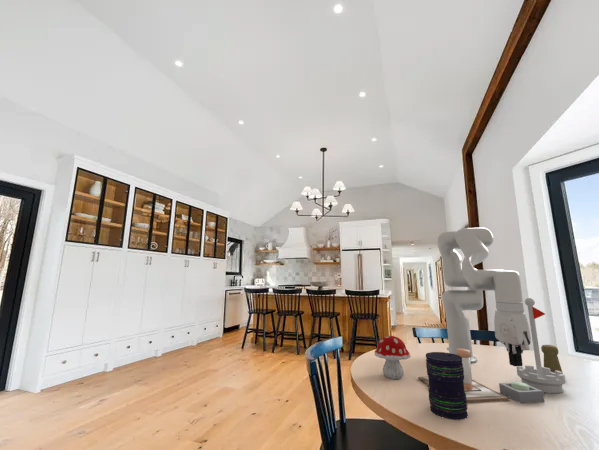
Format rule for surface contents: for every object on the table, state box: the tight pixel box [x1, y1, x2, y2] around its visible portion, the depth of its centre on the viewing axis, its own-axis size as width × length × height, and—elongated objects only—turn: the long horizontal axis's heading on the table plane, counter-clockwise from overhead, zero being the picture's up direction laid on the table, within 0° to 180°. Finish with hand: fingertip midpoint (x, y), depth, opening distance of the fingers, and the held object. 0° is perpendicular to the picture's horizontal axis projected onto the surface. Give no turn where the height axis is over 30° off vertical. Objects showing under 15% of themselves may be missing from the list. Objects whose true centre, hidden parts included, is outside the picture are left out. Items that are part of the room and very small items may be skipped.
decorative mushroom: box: [374, 335, 412, 380], centre depth 114 cm, size 14×14×15 cm
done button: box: [510, 381, 529, 391], centre depth 93 cm, size 5×5×4 cm
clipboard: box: [417, 375, 510, 404], centre depth 100 cm, size 22×18×1 cm
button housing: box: [498, 381, 545, 404], centre depth 93 cm, size 8×8×3 cm
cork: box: [540, 344, 564, 374], centre depth 114 cm, size 6×6×11 cm
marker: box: [456, 348, 473, 390], centre depth 99 cm, size 4×4×12 cm
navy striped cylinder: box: [425, 351, 469, 421], centre depth 84 cm, size 10×10×15 cm
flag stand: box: [516, 297, 566, 394], centre depth 104 cm, size 13×13×30 cm
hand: (516, 365), depth 95 cm, fingers closed
